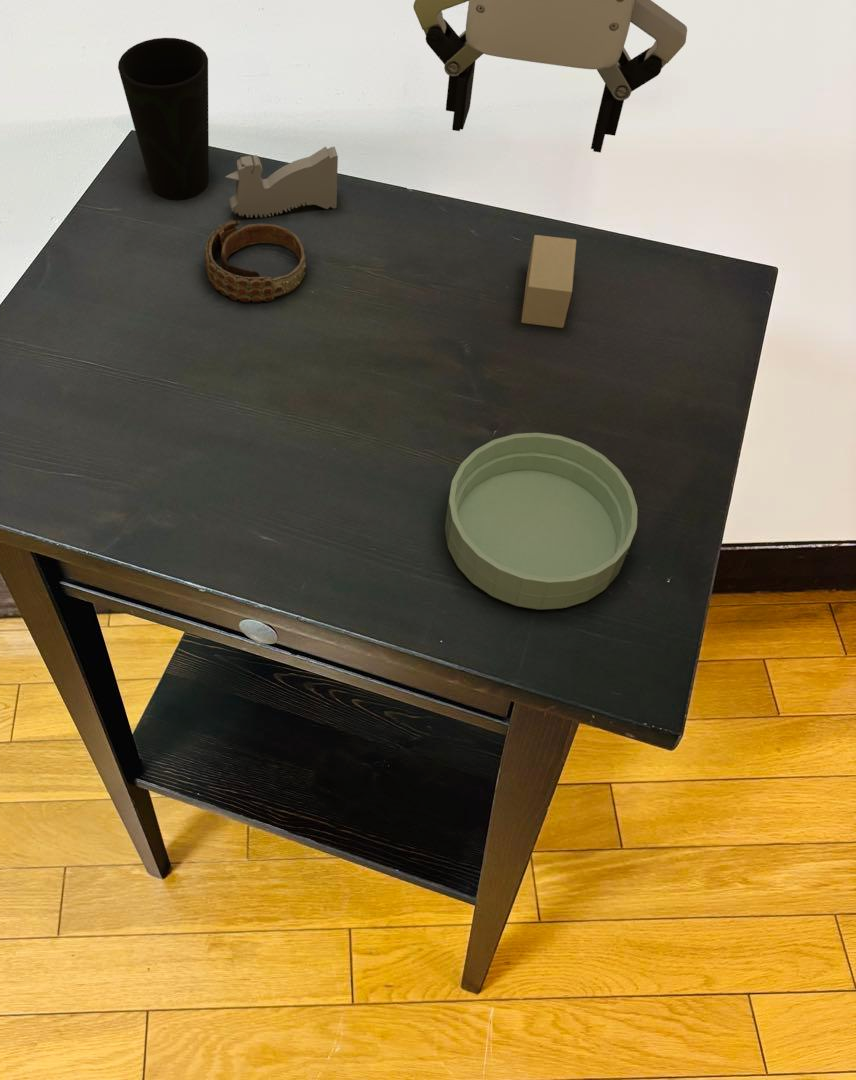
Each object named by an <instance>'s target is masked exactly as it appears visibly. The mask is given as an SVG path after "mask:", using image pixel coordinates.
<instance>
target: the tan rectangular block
mask: <svg viewBox="0 0 856 1080" xmlns="http://www.w3.org/2000/svg"><path fill="white" fill-rule="evenodd" d="M576 249H577V239H574V238H567V237H566V238H565V237H558V236H547V235H541V234H540V235H539V234H534V236H533V241H532V245H531V251H530V256H529V262H528V266H527V267H528V268H527V271H526V272H527V273H526V280H525V288H524V297H523V305H522V313H521V320H520V321H521V323H522V324H526V325H527V324H528V325H537V326H544V327H552V328H558V329H559V328H561V329H563V328H564V327H565V323H566V318H567V314H568V310H569V305H570V302H571V298H572V293H573V287H574V286H573V285H574V274H575V262H576Z"/></svg>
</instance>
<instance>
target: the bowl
mask: <svg viewBox="0 0 856 1080" xmlns="http://www.w3.org/2000/svg"><path fill="white" fill-rule="evenodd" d="M449 490H450V491H449V496H448V504H447V509H446V515H445V523H444V533H445V539H446V544H447V549H448V551H449V553H450V555H451V557H452V559H453V561H454V563H455V564H456V566H457V569H459V570H460V571H461V573H463V575H464V576H465V577H466V578H467V579H468V581H469V582H471V583H472V584H473V585H475V587H477V588H479V589H480V590H482V591H483V592H485V593H487V594H488V595H489V596H491V597H492V598H495V599H497V600H500V601H501V602H503V603H507V604H510V605H513V606H515V607H519V608H520V607H521V608H526V609H532V610H538V611H539V610H542V611H543V610H556V609H564V608H565V609H566V608H570V607H573V606H577V605H579V604H582V603H586V602H588V601H589V600H591V599H593V598H595V597H596V596H598V595H599V594H600V593H602V592H603V591H605V590H606V589H607V588H608V587H609V586H610V585H611V583H612V582H613V581H614V580H615V579H616V577H618V575H619V573H620V571H621V569H622V567H623V564H624V562H625V559H626V556H627V555H628V552H629V549H630V547H631V544H632V541H633V539H634V537H635V534H636V531H637V530H638V512H639V511H638V505H637V501H636V498H635V495H634V492H633V488H632V487H631V485H630V483H629V481H628V480H627V478H626V477H625V476H624V474H623V473H622V471H621V470H620V469H619V468H618V467H617V466H616V465H615V464H614V463H613V462H611V460H609V458H608V457H606V456H605V455H604V454H603V453H600V452H599V451H597V450H595V449H594V448H592V447H590V446H589V445H587V444H585V443H583V442H580V441H577V440H576V439H575V440H574V439H572V438H569V437H567V436H564V435H558V434H551V433H544V432H525V433H513V434H508V435H506V436H502V437H499V438H495V439H492V440H490V441H489V442H487V443H485V444H483V445H481V446H480V447H478V448H476V449H475V450H474V451H472V452H471V453H470V454H469V455H468V456H467V457H466V458H465V459H464V460H463V461H462V462H461V463H460V465H459V466H458V469H457V470H456V472H455V474H454V476H453V477H452V480H451V483H450V489H449Z"/></svg>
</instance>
